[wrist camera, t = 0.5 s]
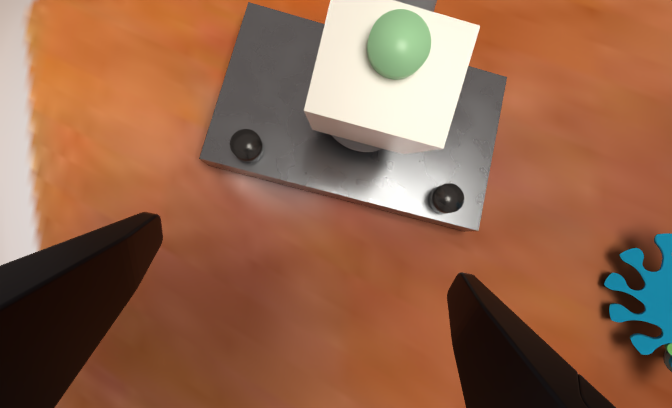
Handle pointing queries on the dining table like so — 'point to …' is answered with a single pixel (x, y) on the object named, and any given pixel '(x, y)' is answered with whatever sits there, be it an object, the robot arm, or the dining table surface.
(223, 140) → the base
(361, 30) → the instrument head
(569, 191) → the dining table surface
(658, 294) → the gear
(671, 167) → the dining table surface
